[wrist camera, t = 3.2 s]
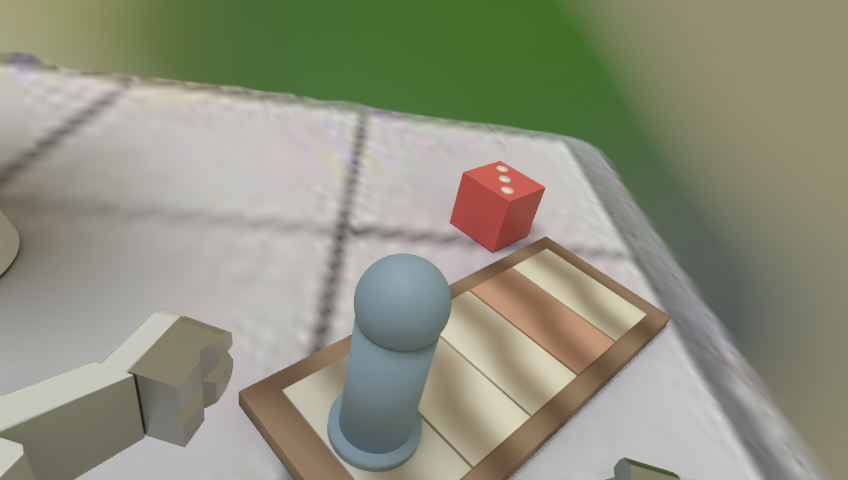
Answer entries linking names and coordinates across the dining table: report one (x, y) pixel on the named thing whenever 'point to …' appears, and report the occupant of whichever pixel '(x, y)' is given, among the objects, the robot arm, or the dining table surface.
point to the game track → (477, 372)
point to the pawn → (389, 362)
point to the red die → (496, 205)
